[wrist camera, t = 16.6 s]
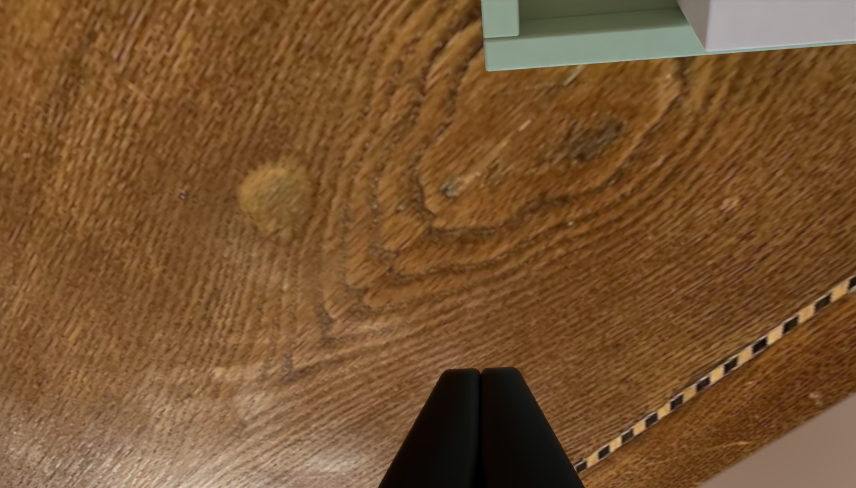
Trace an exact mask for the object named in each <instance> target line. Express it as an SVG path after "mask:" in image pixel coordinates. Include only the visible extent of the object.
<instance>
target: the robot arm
mask: <svg viewBox="0 0 856 488" xmlns="http://www.w3.org/2000/svg"><path fill="white" fill-rule="evenodd" d="M378 488H585V487H584V485H583V483H582V482H581V480H580V478H579V476H578V474H577V473H576V471H575V469H574V467H573V466H572V464H571V462H570V460H569V458H568V457H567V455H566V453H565V451H564V450H563V448H562V446H561V444H560V442H559V441H558V439H557V437H556V435H555V434H554V432H553V430H552V428H551V426H550V425H549V423H548V421H547V419H546V418H545V416H544V414H543V412H542V410H541V409H540V407H539V405H538V403H537V401H536V400H535V398H534V396H533V394H532V393H531V391H530V389H529V387H528V385H527V384H526V382H525V380H524V378H523V377H522V375H521V373H520V372H519V371H518V369H516V368H514V367H499V368H485V369H484V370H483V371H482V372H481V374H480V372H479V370H477V369H475V368H469V369H448V370H446V371H444V372H443V373H442V375H441V376H440V378H439V380H438V382H437V383H436V385H435V387H434V389H433V390H432V392H431V394H430V396H429V398H428V399H427V401H426V403H425V405H424V406H423V408H422V410H421V412H420V414H419V415H418V417H417V419H416V421H415V422H414V424H413V426H412V428H411V430H410V431H409V433H408V435H407V437H406V438H405V440H404V442H403V444H402V446H401V447H400V449H399V451H398V453H397V454H396V456H395V458H394V460H393V462H392V463H391V465H390V467H389V469H388V470H387V472H386V474H385V476H384V478H383V479H382V481H381V483H380V485H379V486H378Z"/></svg>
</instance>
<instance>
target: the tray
mask: <svg viewBox="0 0 856 488" xmlns="http://www.w3.org/2000/svg"><path fill="white" fill-rule="evenodd" d="M481 12H482V28H483V43H484V58H485V68H486V70H487V71H499V70H512V69H525V68H539V67H552V66H565V65H578V64H591V63H605V62H618V61H631V60H644V59H657V58H670V57H684V56H697V55H710V54H723V53H736V52H750V51H763V50H776V49H789V48H802V47H815V46H829V45H842V44H855V43H856V41H843V42H830V43H817V44H803V45H790V46H777V47H764V48H751V49H738V50H724V51H711V52H708V51H705V50H704V48H703V46H702V44H701V43H700V41H699V39H698V38H697V36H696V34H695V32H694V31H693V29H692V27H691V25H690V24H689V22H688V20H687V19H686V17H685V15H684V13H683V12H682V10H681V8H680V7H679V5H678V3H677V1H676V0H481Z"/></svg>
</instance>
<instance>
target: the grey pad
mask: <svg viewBox="0 0 856 488" xmlns="http://www.w3.org/2000/svg"><path fill="white" fill-rule="evenodd" d="M676 1H677V3H678V5H679V7H680V8H681V10H682V12H683V13H684V15H685V17H686V19H687V20H688V22H689V24H690V25H691V27H692V29H693V31H694V32H695V34H696V36H697V38H698V39H699V41H700V43H701V44H702V46H703V48H704V50H705V51H708V52H711V51H724V50H738V49H751V48H764V47H777V46H790V45H803V44H817V43H830V42H843V41H856V0H676Z"/></svg>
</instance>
